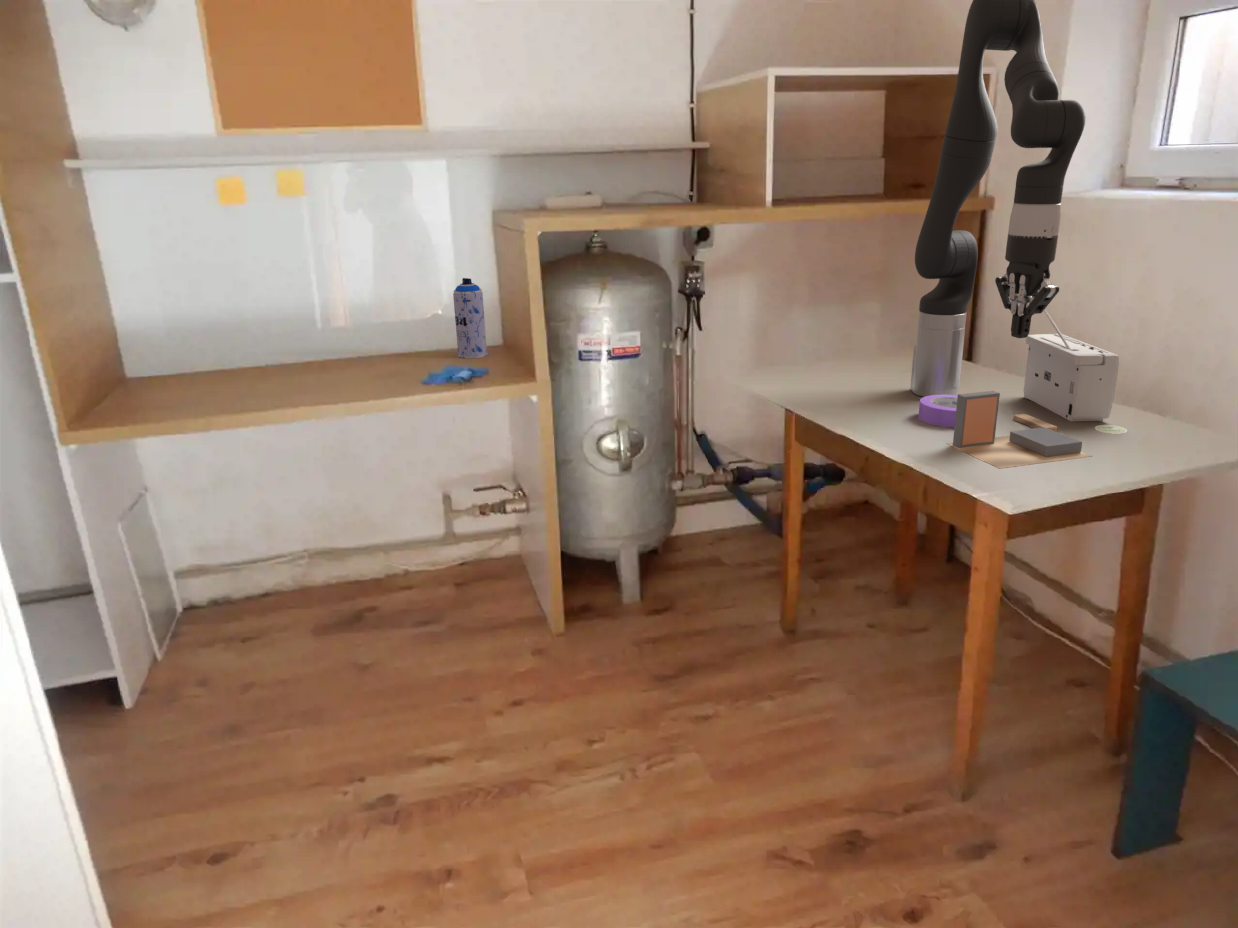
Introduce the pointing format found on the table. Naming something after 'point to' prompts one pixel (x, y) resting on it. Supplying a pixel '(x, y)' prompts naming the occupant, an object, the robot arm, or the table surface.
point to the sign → (1111, 429)
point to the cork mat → (1012, 454)
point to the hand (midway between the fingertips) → (1019, 337)
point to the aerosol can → (469, 320)
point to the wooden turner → (1033, 422)
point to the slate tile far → (1045, 441)
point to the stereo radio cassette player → (1070, 376)
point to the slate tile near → (976, 419)
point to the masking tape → (938, 410)
